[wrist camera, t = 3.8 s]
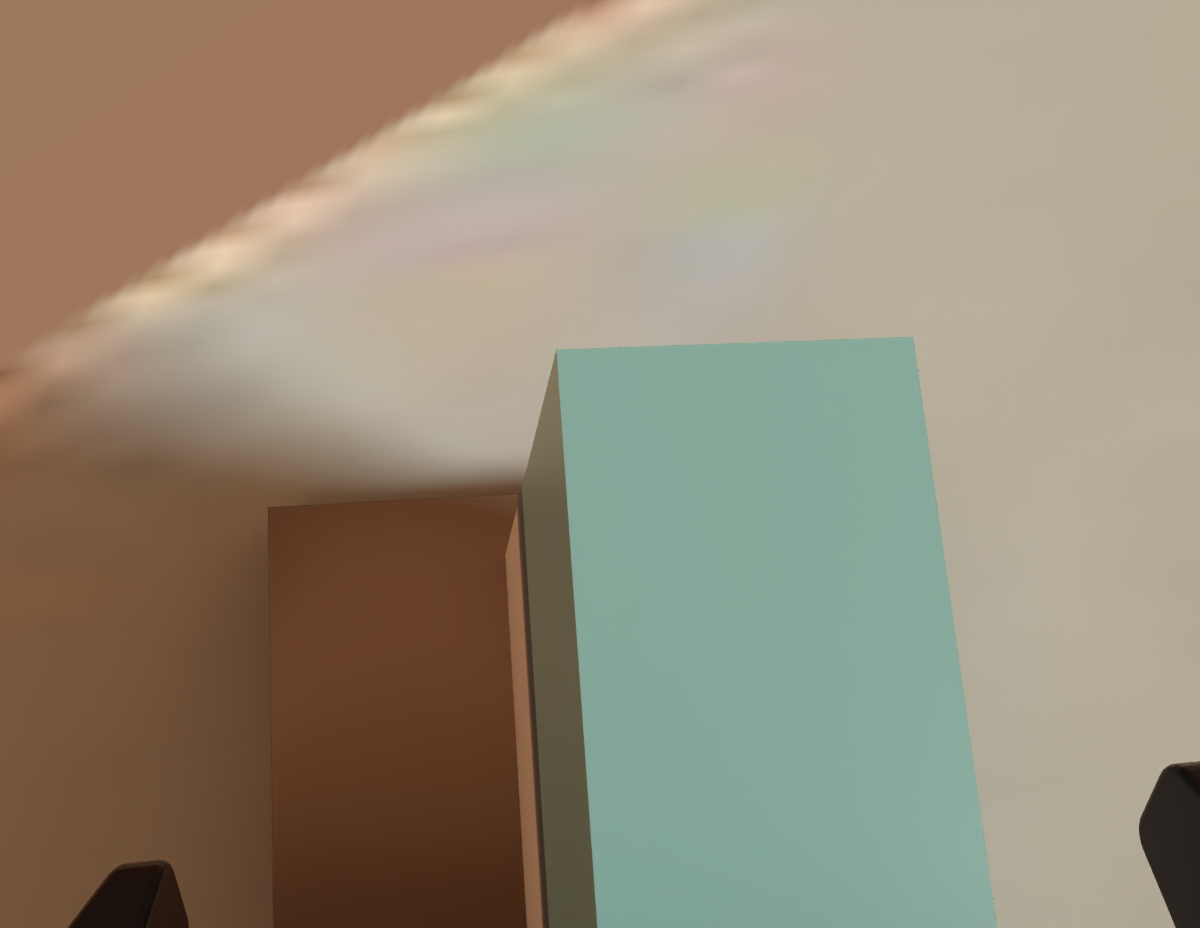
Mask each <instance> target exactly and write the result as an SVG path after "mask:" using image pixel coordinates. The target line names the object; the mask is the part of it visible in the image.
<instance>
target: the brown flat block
mask: <svg viewBox="0 0 1200 928" xmlns="http://www.w3.org/2000/svg"><path fill="white" fill-rule="evenodd" d="M517 495H518V494H510V495H491V496H472V497H454V498H435V499H416V500H397V501H379V502H360V503H341V504H323V505H304V506H285V507H268V542H269V617H270V691H271V765H272V839H273V913H274V928H527V920H526V902H525V885H524V868H523V851H522V834H521V817H520V800H519V783H518V765H517V748H516V731H515V714H514V697H513V680H512V663H511V646H510V628H509V611H508V594H507V577H506V560H505V554H506V550H507V546H508V542H509V538H510V534H511V530H512V526H513V522H514V518H515V514H516V510H517Z"/></svg>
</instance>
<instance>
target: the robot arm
mask: <svg viewBox="0 0 1200 928" xmlns="http://www.w3.org/2000/svg"><path fill="white" fill-rule="evenodd" d="M1139 834H1140V840H1141V844H1142V847H1143V850H1144V852H1145V855H1146V857H1147V860H1148V862H1149V864H1150V867H1151V869H1152V872H1153V874H1154V876H1155V879H1156V881H1157V884H1158V886H1159V888H1160V891H1161V893H1162V896H1163V898H1164V900H1165V903H1166V905H1167V908H1168V910H1169V912H1170V915H1171V917H1172V920H1173V922H1174V924H1175V927H1176V928H1200V761H1199V762H1188V763H1178V764H1172V765H1169V766H1168V767H1166V768H1165V769H1164V770H1163V771H1162V773H1161V774H1160V776H1159V779H1158V781H1157V783H1156V785H1155V787H1154V789H1153V792H1152V794H1151V796H1150V798H1149V800H1148V803H1147V805H1146V807H1145V809H1144V811H1143V813H1142V816H1141V818H1140V823H1139ZM68 928H189V926H188V919H187V915H186V911H185V908H184V905H183V901H182V898H181V895H180V891H179V888H178V884H177V881H176V878H175V874H174V871H173V869H172V867H171V865H170V864H169V863H168V862H166V861H162V860H157V861H147V862H136V863H126V864H123V865H120V866H118V867H117V868H115V869H114V870H113V871H112V872H111V873H110V874H109V875H108V876H107V878H106V879H105V880H104V881H103V883H102V884H101V885H100V887H99V888H98V889H97V891H96V892H95V893H94V894H93V896H92V897H91V898H90V900H89V901H88V902H87V904H86V905H85V906H84V907H83V909H82V910H81V911H80V913H79V914H78V915H77V917H76V918H75V919H74V920H73V922H72V923H71V924H70V926H69V927H68Z"/></svg>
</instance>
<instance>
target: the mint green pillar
mask: <svg viewBox="0 0 1200 928" xmlns="http://www.w3.org/2000/svg"><path fill="white" fill-rule="evenodd" d="M522 498H523V514H524V530H525V546H526V562H527V578H528V594H529V610H530V626H531V642H532V658H533V674H534V690H535V706H536V722H537V738H538V754H539V771H540V787H541V803H542V819H543V835H544V851H545V867H546V883H547V899H548V915H549V928H997V924H996V917H995V910H994V903H993V896H992V889H991V882H990V875H989V868H988V861H987V854H986V847H985V840H984V833H983V826H982V819H981V811H980V804H979V797H978V790H977V783H976V776H975V769H974V762H973V755H972V748H971V741H970V734H969V727H968V720H967V713H966V706H965V699H964V692H963V684H962V677H961V670H960V663H959V656H958V649H957V642H956V635H955V628H954V621H953V614H952V607H951V600H950V593H949V586H948V579H947V572H946V565H945V557H944V550H943V543H942V536H941V529H940V522H939V515H938V508H937V501H936V494H935V487H934V480H933V473H932V466H931V459H930V452H929V445H928V438H927V430H926V423H925V416H924V409H923V402H922V395H921V388H920V381H919V374H918V367H917V360H916V353H915V346H914V339H913V337H895V338H868V339H840V340H812V341H785V342H757V343H729V344H701V345H674V346H646V347H618V348H590V349H563V350H556V353H555V357H554V361H553V366H552V370H551V374H550V378H549V382H548V386H547V390H546V394H545V398H544V402H543V406H542V410H541V414H540V418H539V422H538V426H537V430H536V434H535V438H534V442H533V446H532V450H531V454H530V458H529V462H528V466H527V470H526V474H525V478H524V482H523V486H522Z"/></svg>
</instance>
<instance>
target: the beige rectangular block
mask: <svg viewBox="0 0 1200 928" xmlns="http://www.w3.org/2000/svg"><path fill="white" fill-rule="evenodd" d="M505 560H506V577H507V594H508V611H509V628H510V646H511V663H512V680H513V697H514V714H515V731H516V748H517V765H518V783H519V800H520V817H521V834H522V851H523V868H524V885H525V902H526V920H527V928H549V915H548V899H547V883H546V867H545V851H544V835H543V819H542V803H541V787H540V771H539V754H538V738H537V722H536V706H535V690H534V674H533V658H532V642H531V626H530V610H529V594H528V578H527V562H526V546H525V530H524V514H523V498H522V493H518V495H517V510H516V514H515V518H514V522H513V526H512V530H511V534H510V538H509V542H508V546H507V550H506V554H505Z"/></svg>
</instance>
